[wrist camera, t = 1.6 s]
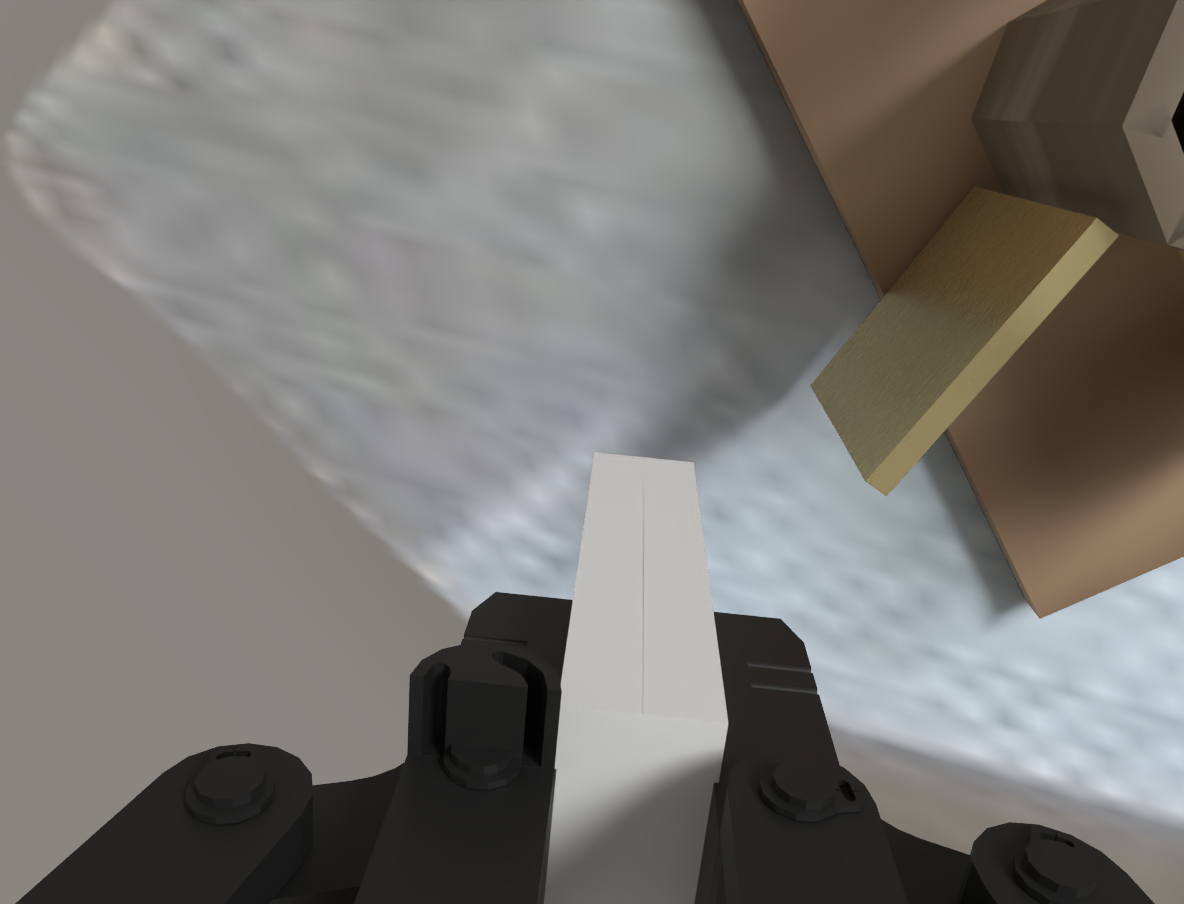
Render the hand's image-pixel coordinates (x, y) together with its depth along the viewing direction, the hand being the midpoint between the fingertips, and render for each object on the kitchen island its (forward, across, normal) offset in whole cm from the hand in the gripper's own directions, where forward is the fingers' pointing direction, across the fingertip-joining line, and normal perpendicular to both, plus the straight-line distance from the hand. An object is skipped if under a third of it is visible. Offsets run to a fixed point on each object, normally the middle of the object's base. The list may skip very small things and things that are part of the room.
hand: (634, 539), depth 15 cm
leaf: (+15, +7, +2) cm, 16 cm away
